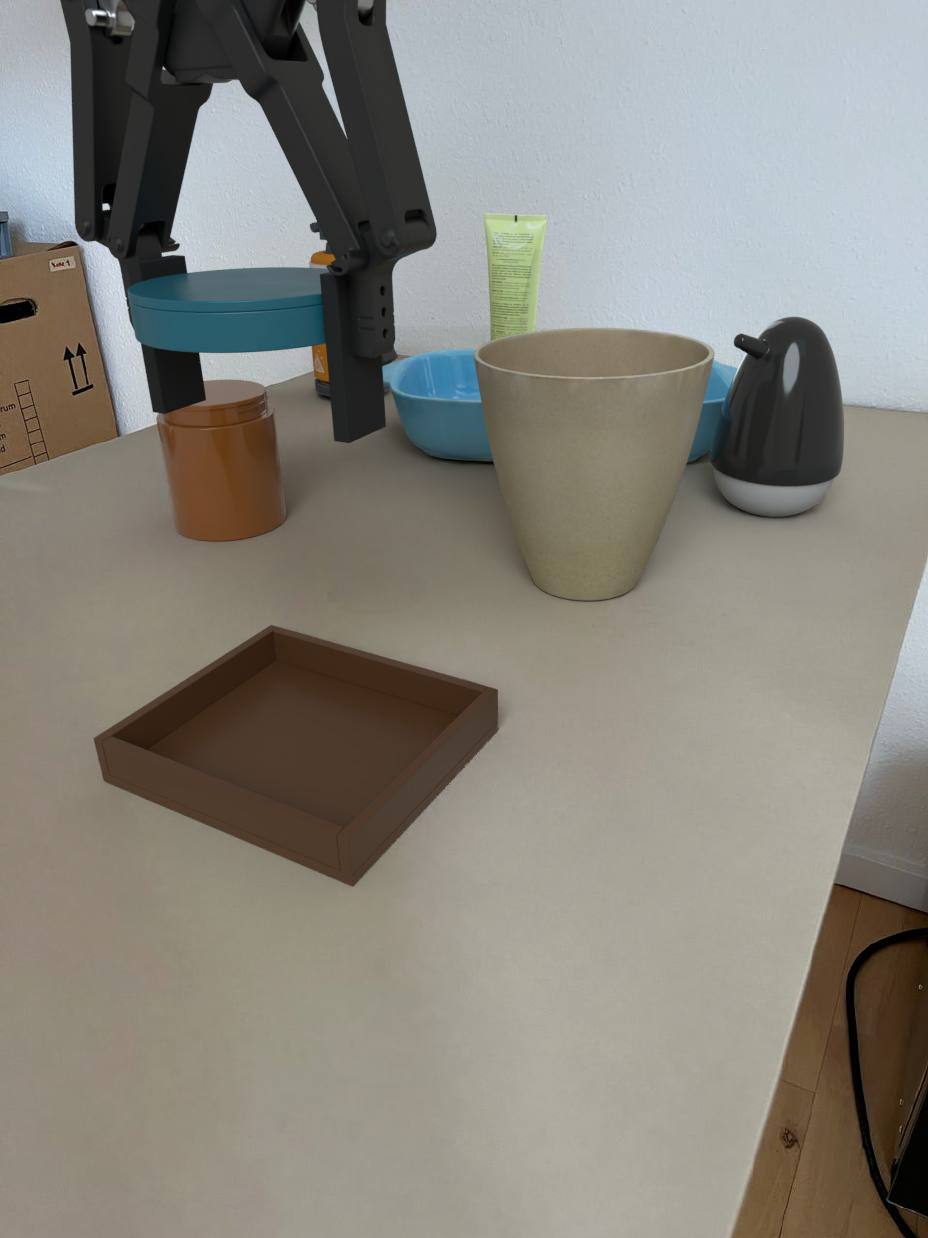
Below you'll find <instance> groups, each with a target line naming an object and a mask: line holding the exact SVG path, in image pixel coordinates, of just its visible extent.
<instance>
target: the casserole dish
mask: <svg viewBox="0 0 928 1238" xmlns="http://www.w3.org/2000/svg"><path fill="white" fill-rule="evenodd" d="M476 349H477V348H476ZM476 349H475V348H474V349H473V348H470V349H469V348H467V349H462V348H461V349H459V348H458V349H442V350H432V351H426V352H421V353H417V354H413V355H411V356H409V357H406V358H404V359H400V360H396V361H392V362H391V363H390V364H387V365H384V366H382V369H383V385H384V386H385V387H390V388H389V390H390V392H391V395H392V399H393V402H394V404H395V408H396V411H397V414H398V416H399V420H400V423H401V425H402V427H403V429H404V431H405V433H406V435H407V437H408V439H409V440H410V441H411V443H413V445H415V446H416V448H418V449H420V450H422V451H423V452H424V453H425V454H427V455H429V456H430V457H434V458H439V459H446V460H457V461H475V462H494V461H493V457H492V453H491V448H490V444H489V439H488V435H487V430H486V425H485V420H484V414H483V409H482V403H481V397H480V391H479V385H478V379H477V373H476V367H475V361H474V351H475V350H476ZM737 369H738V367H735V366H732V365H728V364H724V363H721V362H719V361H718V360H715V359H713V364H712V368H711V372H710V377H709V381H708V385H707V390H706V394H705V398H704V402H703V406H702V411H701V415H700V419H699V422H698V426H697V430H696V433H695V437H694V441H693V444H692V447H691V451H690V454H689V457H688V460H687V463H686V464H689V463H692V462H695V461H697V460H698V459H699V458H701V457H703V456H705V454H707V453H708V452H711V447H712V442H713V438H714V434H715V430H716V426H717V422H718V419H719V415H720V412H721V409H722V406H723V403H724V400H725V397H726V395H727V392H728V390H729V387H730V385H731V383H732V380H733V378H734V376H735V374H736V371H737Z"/></svg>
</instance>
